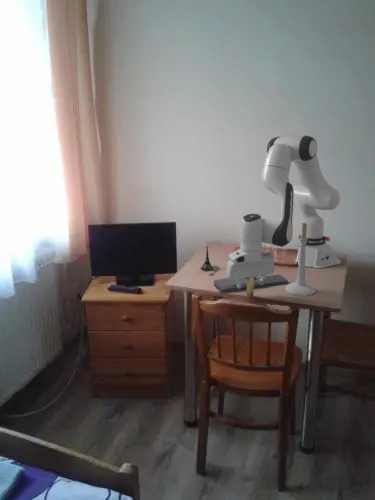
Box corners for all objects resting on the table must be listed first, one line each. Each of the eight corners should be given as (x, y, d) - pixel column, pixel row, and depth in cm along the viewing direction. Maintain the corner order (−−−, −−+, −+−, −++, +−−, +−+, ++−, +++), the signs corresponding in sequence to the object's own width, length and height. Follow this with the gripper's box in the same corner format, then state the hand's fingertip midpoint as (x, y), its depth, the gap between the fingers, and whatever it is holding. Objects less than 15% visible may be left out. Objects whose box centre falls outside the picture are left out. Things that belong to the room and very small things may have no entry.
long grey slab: (279, 277, 207) (279, 271, 206) (287, 283, 200) (287, 277, 199) (214, 285, 199) (214, 280, 198) (220, 292, 191) (220, 286, 190)
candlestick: (284, 294, 188) (288, 225, 179) (285, 283, 200) (288, 218, 191) (316, 297, 185) (321, 226, 176) (315, 285, 197) (320, 219, 188)
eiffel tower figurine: (212, 277, 210) (212, 250, 206) (192, 274, 214) (192, 247, 210) (222, 267, 224) (223, 241, 220) (203, 264, 227) (203, 239, 223)
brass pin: (251, 294, 188) (252, 272, 185) (254, 297, 186) (255, 274, 183) (245, 295, 188) (245, 273, 185) (248, 298, 185) (248, 275, 182)
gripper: (270, 249, 187) (269, 280, 191) (224, 254, 181) (224, 286, 185) (277, 253, 181) (276, 285, 185) (230, 259, 175) (230, 292, 180)
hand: (250, 286), depth 185 cm, fingers open, 8 cm apart
